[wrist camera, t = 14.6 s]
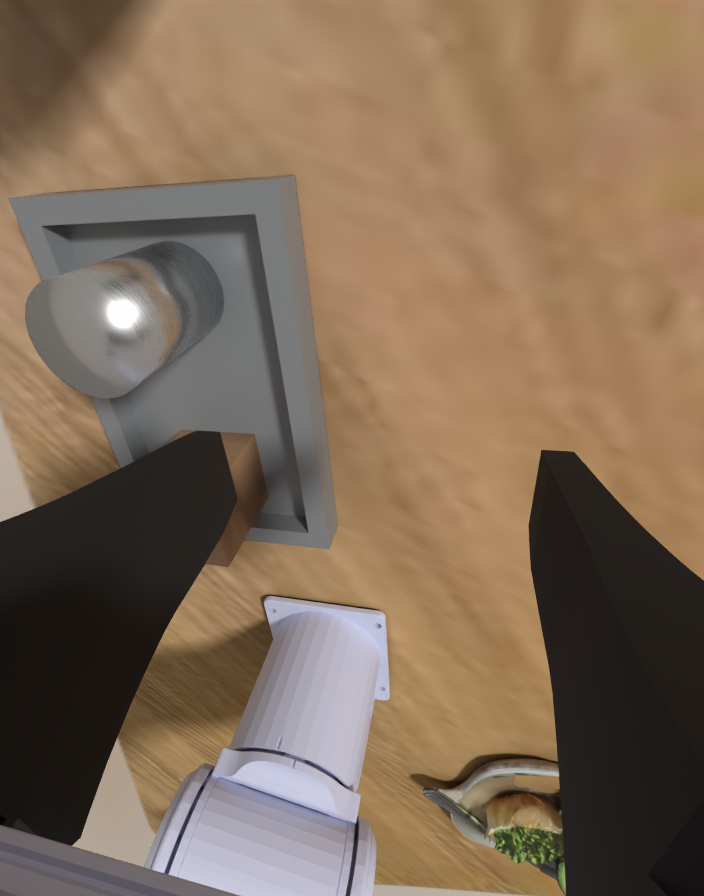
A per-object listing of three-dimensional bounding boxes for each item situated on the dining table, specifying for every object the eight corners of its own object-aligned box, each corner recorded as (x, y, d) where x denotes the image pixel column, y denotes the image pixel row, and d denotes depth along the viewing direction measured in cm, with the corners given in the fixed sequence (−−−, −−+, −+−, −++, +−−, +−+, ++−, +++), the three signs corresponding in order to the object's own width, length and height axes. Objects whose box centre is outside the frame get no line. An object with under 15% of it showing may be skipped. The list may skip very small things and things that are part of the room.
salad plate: (399, 801, 45) (392, 861, 41) (466, 715, 35) (464, 786, 31) (600, 872, 44) (611, 941, 40) (731, 806, 34) (762, 891, 30)
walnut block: (268, 497, 26) (228, 566, 22) (201, 491, 26) (151, 557, 22) (254, 433, 23) (207, 497, 19) (182, 429, 24) (122, 490, 20)
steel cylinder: (233, 336, 21) (158, 399, 16) (153, 338, 22) (58, 398, 17) (210, 237, 19) (115, 274, 14) (122, 243, 19) (3, 280, 15)
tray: (337, 526, 26) (329, 549, 25) (162, 508, 29) (145, 528, 27) (295, 174, 17) (277, 179, 16) (43, 193, 20) (8, 198, 18)
